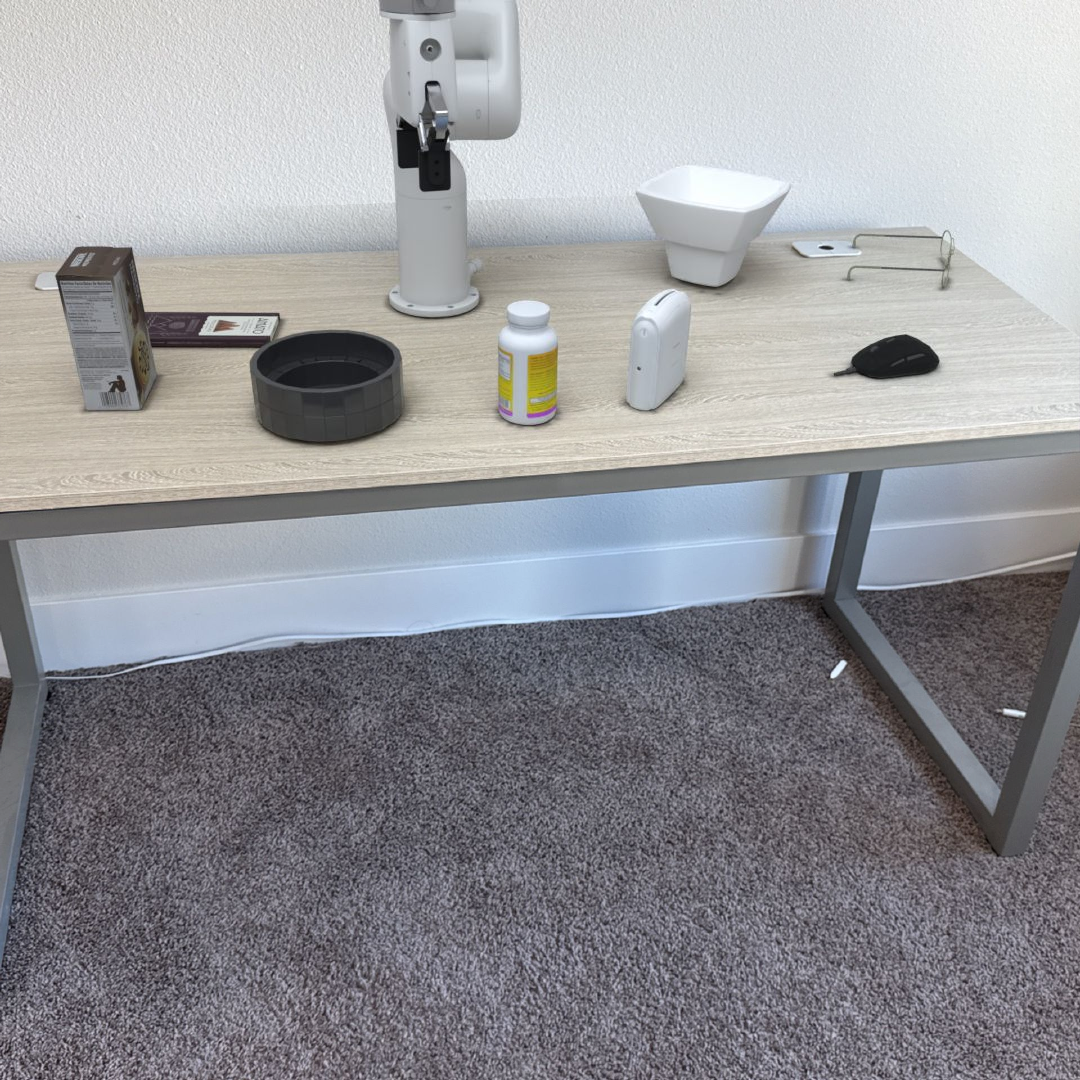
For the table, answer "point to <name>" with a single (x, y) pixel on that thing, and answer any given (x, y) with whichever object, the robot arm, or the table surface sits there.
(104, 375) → the coffee box
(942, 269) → the eyeglasses
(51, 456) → the table surface
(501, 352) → the supplement bottle
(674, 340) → the photo printer
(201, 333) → the chocolate bar
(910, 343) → the gaming mouse
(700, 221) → the bowl
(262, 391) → the black bowl
